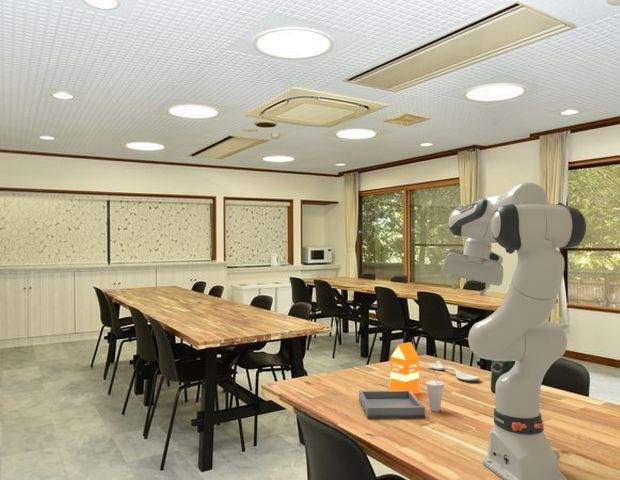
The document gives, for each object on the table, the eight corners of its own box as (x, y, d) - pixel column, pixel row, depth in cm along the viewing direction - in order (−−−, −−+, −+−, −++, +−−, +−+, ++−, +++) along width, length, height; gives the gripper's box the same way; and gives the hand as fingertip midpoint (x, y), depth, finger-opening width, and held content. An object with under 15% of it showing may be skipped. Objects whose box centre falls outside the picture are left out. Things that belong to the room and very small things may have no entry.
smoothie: (444, 413, 173) (444, 373, 174) (426, 411, 175) (426, 372, 175) (443, 407, 180) (443, 369, 180) (425, 406, 181) (425, 368, 181)
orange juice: (390, 392, 198) (390, 343, 198) (403, 388, 204) (403, 340, 204) (405, 397, 192) (405, 346, 192) (419, 392, 198) (419, 343, 198)
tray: (424, 417, 169) (424, 407, 169) (367, 418, 168) (367, 408, 168) (410, 399, 189) (410, 390, 189) (358, 400, 188) (358, 391, 188)
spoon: (438, 366, 243) (438, 359, 243) (485, 382, 213) (485, 375, 213) (423, 368, 239) (423, 361, 239) (469, 385, 210) (469, 377, 210)
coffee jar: (520, 394, 195) (520, 348, 195) (506, 397, 192) (506, 350, 192) (501, 388, 204) (500, 344, 204) (487, 391, 200) (487, 345, 200)
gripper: (445, 245, 170) (436, 284, 169) (507, 258, 163) (498, 298, 162) (446, 248, 176) (437, 286, 174) (506, 261, 169) (497, 300, 168)
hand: (467, 292), depth 168 cm, fingers open, 8 cm apart
